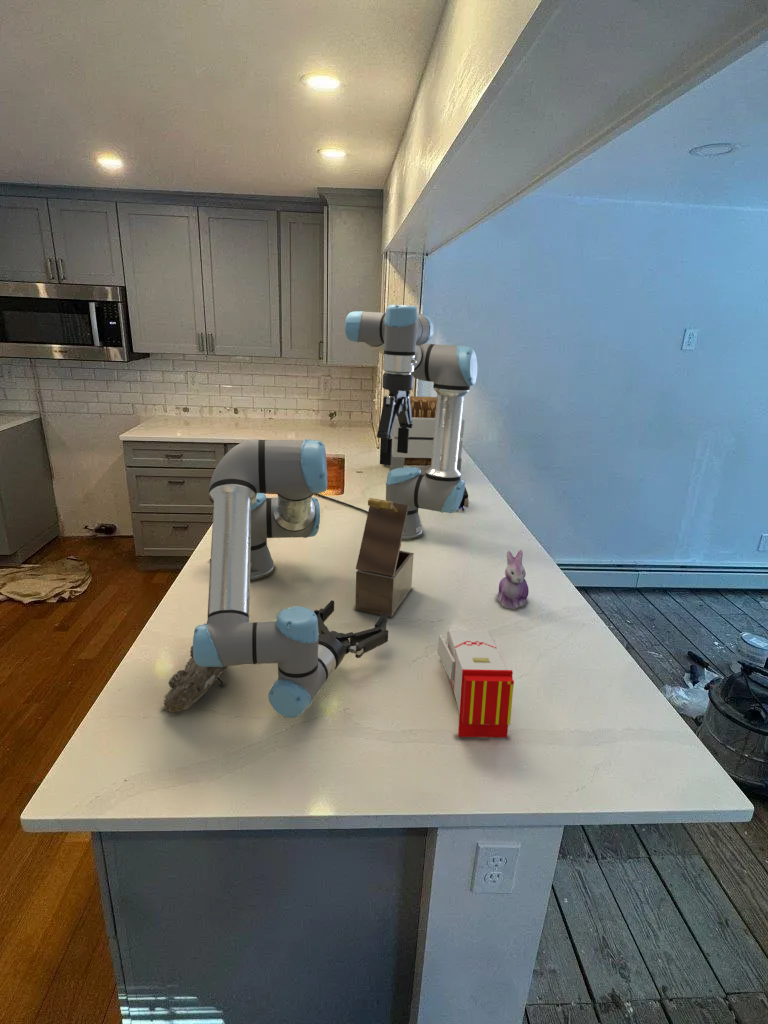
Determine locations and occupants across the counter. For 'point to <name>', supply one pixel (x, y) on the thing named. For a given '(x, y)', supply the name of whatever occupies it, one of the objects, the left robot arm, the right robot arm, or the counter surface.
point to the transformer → (419, 435)
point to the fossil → (190, 684)
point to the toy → (478, 682)
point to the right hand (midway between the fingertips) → (394, 458)
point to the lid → (382, 537)
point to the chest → (384, 587)
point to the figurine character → (464, 500)
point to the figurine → (513, 583)
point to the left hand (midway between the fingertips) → (358, 610)
